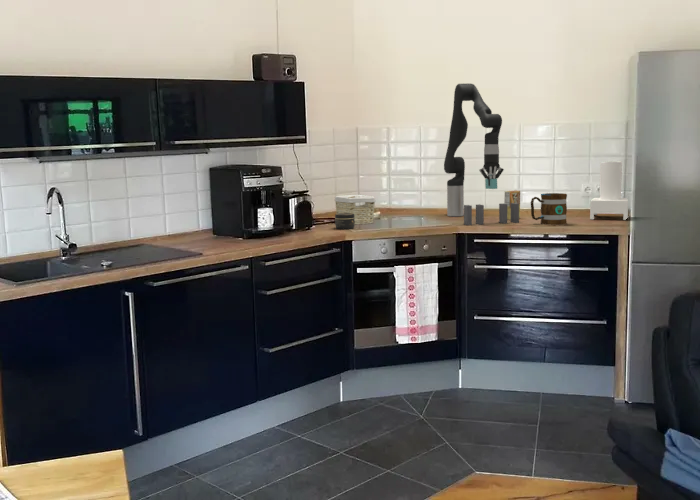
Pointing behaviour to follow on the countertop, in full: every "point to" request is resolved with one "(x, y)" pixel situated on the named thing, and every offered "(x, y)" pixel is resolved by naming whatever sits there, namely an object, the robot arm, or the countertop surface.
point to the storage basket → (357, 207)
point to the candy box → (511, 201)
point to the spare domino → (491, 184)
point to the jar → (344, 221)
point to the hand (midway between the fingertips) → (491, 187)
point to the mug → (551, 208)
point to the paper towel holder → (610, 191)
